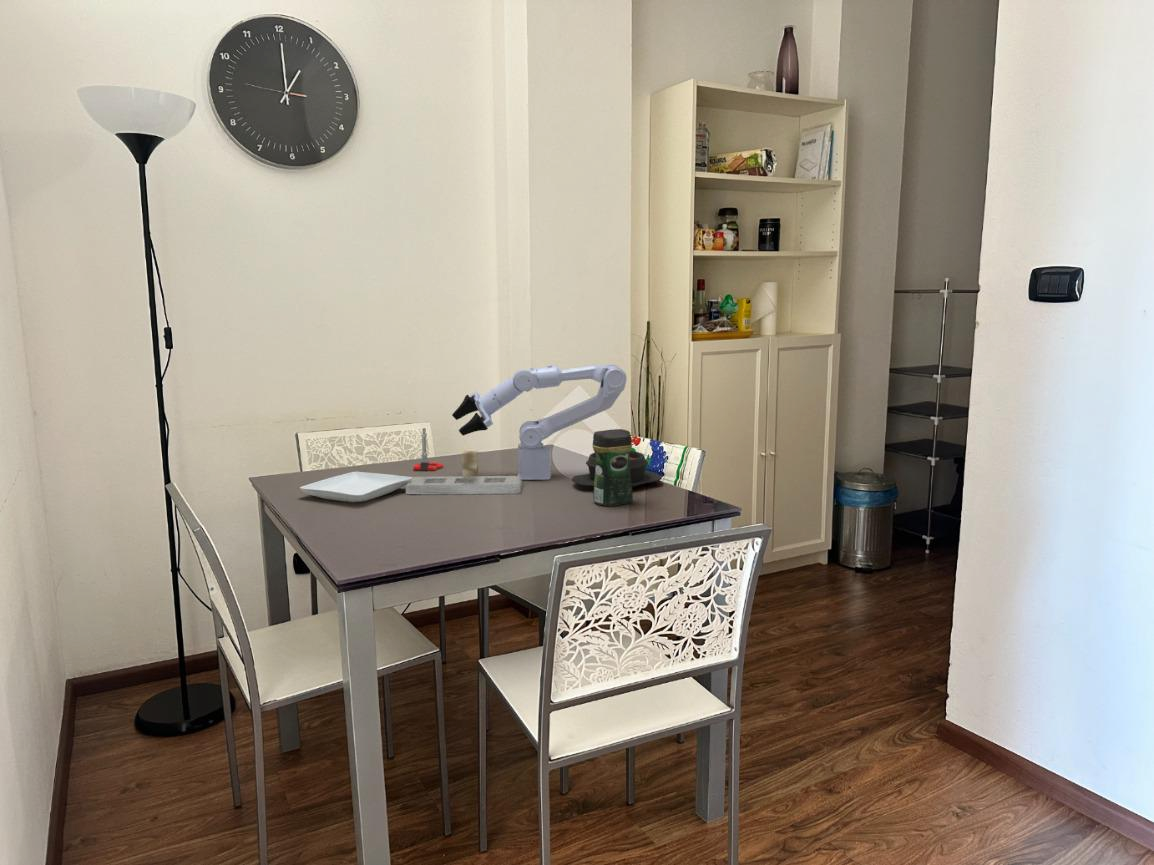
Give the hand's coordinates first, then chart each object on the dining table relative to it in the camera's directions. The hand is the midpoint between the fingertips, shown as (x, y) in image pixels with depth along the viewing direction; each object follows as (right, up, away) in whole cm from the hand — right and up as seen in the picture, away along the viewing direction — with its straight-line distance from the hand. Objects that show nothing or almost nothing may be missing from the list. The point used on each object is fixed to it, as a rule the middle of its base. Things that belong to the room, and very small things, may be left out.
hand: (457, 425), depth 231 cm
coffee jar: (+43, -20, -25) cm, 53 cm away
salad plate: (-24, -19, -14) cm, 34 cm away
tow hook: (-11, -13, +18) cm, 25 cm away
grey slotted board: (+4, -17, -10) cm, 20 cm away
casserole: (+45, -17, -6) cm, 48 cm away
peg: (+4, -16, +1) cm, 16 cm away
